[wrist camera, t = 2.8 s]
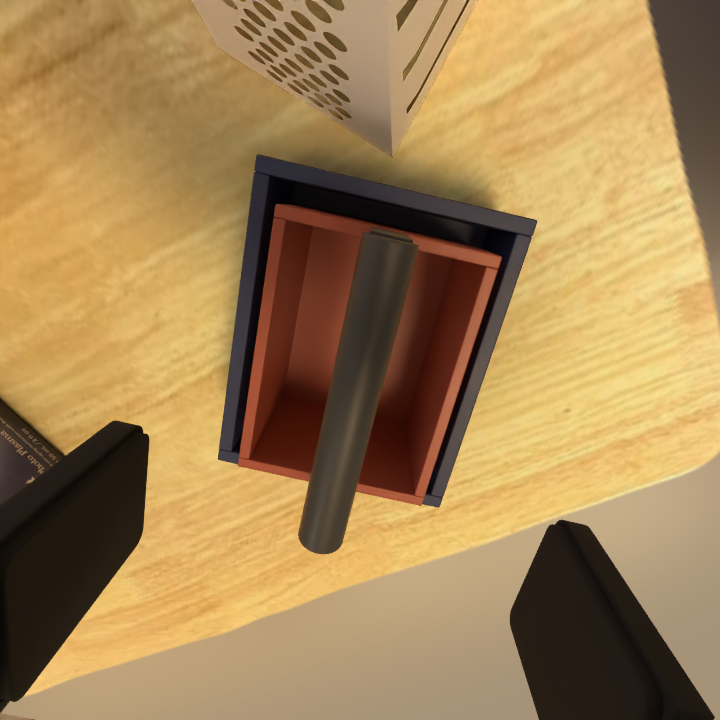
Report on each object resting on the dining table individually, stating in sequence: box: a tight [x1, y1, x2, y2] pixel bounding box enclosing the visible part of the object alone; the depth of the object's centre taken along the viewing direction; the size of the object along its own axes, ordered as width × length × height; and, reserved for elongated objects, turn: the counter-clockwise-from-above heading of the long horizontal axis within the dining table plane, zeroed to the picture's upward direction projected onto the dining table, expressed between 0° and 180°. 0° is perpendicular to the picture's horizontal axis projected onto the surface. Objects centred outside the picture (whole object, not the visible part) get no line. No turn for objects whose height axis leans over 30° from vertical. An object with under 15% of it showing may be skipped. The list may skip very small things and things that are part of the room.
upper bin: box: [238, 204, 502, 554], centre depth 20 cm, size 12×9×12 cm
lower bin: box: [218, 154, 537, 507], centre depth 24 cm, size 15×12×6 cm
